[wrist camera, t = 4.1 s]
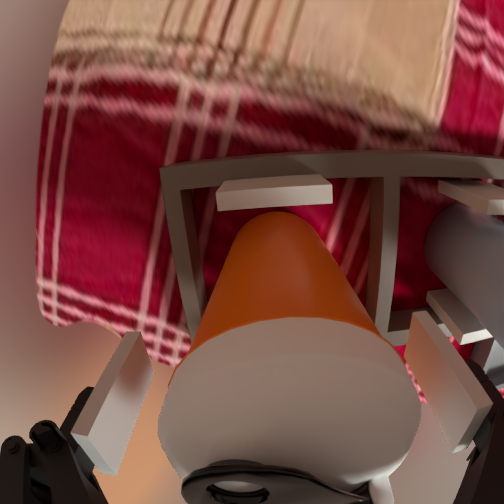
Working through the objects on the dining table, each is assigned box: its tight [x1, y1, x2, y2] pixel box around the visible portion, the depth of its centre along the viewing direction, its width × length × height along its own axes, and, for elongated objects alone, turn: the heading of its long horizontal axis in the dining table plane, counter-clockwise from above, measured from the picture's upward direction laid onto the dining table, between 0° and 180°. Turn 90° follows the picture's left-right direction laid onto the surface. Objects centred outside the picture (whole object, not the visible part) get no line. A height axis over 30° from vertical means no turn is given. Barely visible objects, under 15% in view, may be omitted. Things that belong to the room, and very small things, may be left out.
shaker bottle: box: [158, 211, 421, 504], centre depth 16 cm, size 9×9×20 cm
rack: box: [159, 150, 504, 346], centre depth 21 cm, size 16×30×7 cm, turn 95°
